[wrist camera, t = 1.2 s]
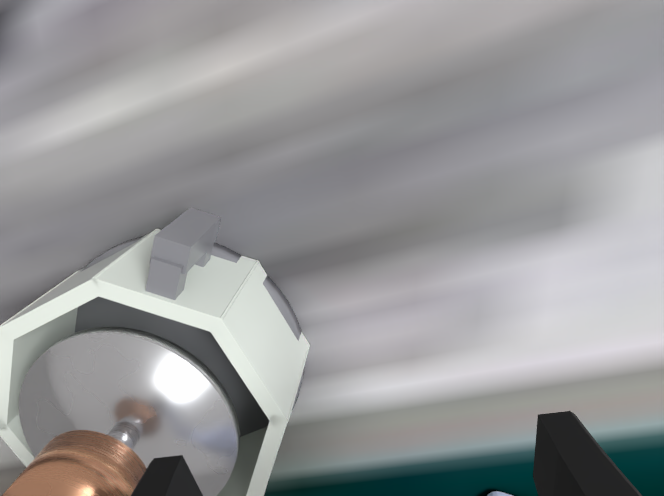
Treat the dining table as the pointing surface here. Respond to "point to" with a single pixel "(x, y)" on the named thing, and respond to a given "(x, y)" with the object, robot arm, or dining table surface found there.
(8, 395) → the octagonal hollow frame
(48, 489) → the copper-knobbed silver dome
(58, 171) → the dining table surface
